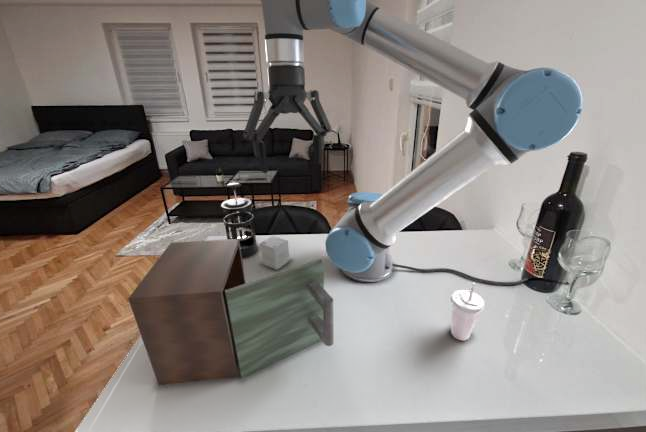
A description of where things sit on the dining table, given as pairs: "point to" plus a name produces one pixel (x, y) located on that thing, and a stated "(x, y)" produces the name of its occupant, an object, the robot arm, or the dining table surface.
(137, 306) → the cupboard
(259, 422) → the dining table surface
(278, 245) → the product carton
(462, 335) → the smoothie
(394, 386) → the dining table surface
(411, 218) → the robot arm
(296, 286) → the door
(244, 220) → the french press
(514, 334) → the dining table surface
